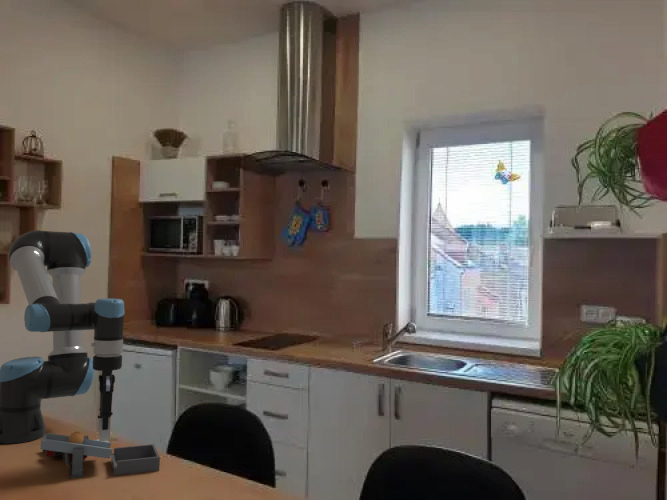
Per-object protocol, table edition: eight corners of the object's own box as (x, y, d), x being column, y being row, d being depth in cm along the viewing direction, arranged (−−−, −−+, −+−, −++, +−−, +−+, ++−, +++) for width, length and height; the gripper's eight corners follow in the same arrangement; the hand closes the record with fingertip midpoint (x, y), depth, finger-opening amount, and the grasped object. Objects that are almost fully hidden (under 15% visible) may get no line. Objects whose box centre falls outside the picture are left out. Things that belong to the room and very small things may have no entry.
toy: (36, 464, 156) (65, 466, 148) (35, 441, 157) (64, 442, 149) (66, 456, 163) (96, 457, 155) (65, 434, 164) (94, 434, 156)
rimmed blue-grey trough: (42, 434, 150) (45, 425, 150) (106, 444, 157) (109, 435, 157) (40, 449, 139) (43, 439, 139) (109, 458, 146) (112, 449, 146)
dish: (111, 460, 154) (111, 448, 154) (153, 456, 159) (154, 444, 159) (114, 475, 144) (114, 461, 144) (159, 470, 149) (159, 457, 149)
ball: (82, 428, 147) (84, 441, 148) (67, 431, 146) (69, 445, 146) (83, 432, 144) (84, 446, 144) (67, 436, 143) (69, 449, 143)
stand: (70, 466, 148) (71, 439, 149) (82, 465, 150) (84, 438, 150) (70, 478, 141) (71, 449, 141) (83, 477, 142) (84, 448, 142)
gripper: (92, 351, 159) (88, 435, 159) (94, 359, 147) (90, 449, 147) (120, 350, 162) (116, 432, 162) (124, 357, 151) (120, 446, 150)
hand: (104, 440), depth 154 cm, fingers closed
